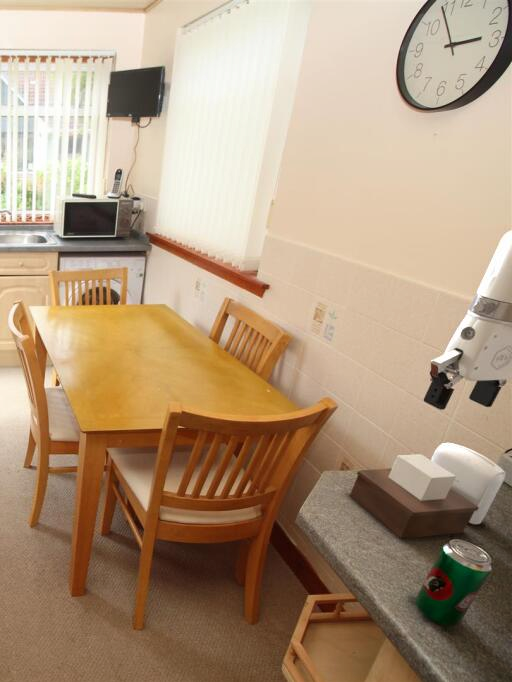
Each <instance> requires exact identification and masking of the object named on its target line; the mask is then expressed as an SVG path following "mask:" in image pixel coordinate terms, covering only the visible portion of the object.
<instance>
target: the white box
mask: <svg viewBox="0 0 512 682" xmlns="http://www.w3.org/2000/svg"><path fill="white" fill-rule="evenodd" d="M391 468H392V470H391V472H390V475H389V478H390V479H392V480H393V481H394V482H396V483H397V484H398V485H400V486H401V487H403V488H404V489H405V490H407V491H408V492H410V493H411V494H412V495H414V496H415V497H417V498H418V499H419V500H421V501H425V500H438V499H445V498H446V496H447V494H448V492H449V490H450V488H451V486H452V484H453V482H454V480H455V478H456V476H455V475H453V474H452V473H450V472H449V471H447V470H445V469H444V468H442V467H441V466H439V465H437V464H436V463H434V462H433V461H431V459H429V458H428V457H426V456H425V455H423V454H421V453H417V454H400V455H397V456H396V458H395V461H394V463H393V466H392V467H391Z"/></svg>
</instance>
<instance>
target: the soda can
mask: <svg viewBox="0 0 512 682" xmlns="http://www.w3.org/2000/svg"><path fill="white" fill-rule="evenodd" d="M492 570H493V566H492V558H491V556H490V555H489V554H488V553H487V552H486V551H485V550H484V549H482V548H481V547H479V546H477V545H475V544H473V543H471V542H468V541H465V540H463V539H451V540H450V541H448V542H446V543H444V544H443V545H442V547H441V549H440V551H439V553H438V555H436V558H435V560H434V562H433V563H432V566H431V568H430V570H429V572H428V573H427V575H426V577H425V579H424V581H423V583H422V585H421V587H420V588H419V591H418V592H417V594H416V596H415V598H414V601H415V604H416V606H417V608H418V610H419V611H420V612H421V614H422V615H423V616H425V617H426V618H427V619H428V620H430V621H432V622H434V623H435V624H438V625H440V626H443V627H458V626H459V625H460V624H461V623H462V620H463V619H464V617H465V615H466V614H467V612H468V610H469V609H470V607H471V605H472V604H473V602H474V600H475V599H476V597H477V595H478V594H479V592H480V590H481V588H482V587H483V585H484V583H485V582H486V580H487V578H488V577H489V575H490V573H491V572H492Z"/></svg>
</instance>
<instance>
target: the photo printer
mask: <svg viewBox="0 0 512 682" xmlns="http://www.w3.org/2000/svg"><path fill="white" fill-rule="evenodd" d="M430 460H431V461H433V462H434V463H436V464H437V465H439V466H441V467H442V468H444V469H445V470H447V471H449V472H450V473H452V474H453V475H455V476H456V478H455V480H454V482H453V484H452V486H451V488H450V489H452V490H453V491H455V492H457V493H458V494H460V495H461V496H463V497H464V498H466V499H467V500H469V501H470V502H472V503H473V504H475V505H476V506H478V507H479V509H478V510H477V511H474V513H473V515H472V517H471V518H470V520H469V522H468V524H472V525H480V524H481V523H482V522H483V520H484V518H485V517H486V515H487V513H488V511H489V509H490V507H491V506H492V503H493V501H494V500H495V498H496V496H497V494H498V492H499V490H500V488H501V487H502V485H503V483H504V481H505V479H506V476H507V475H506V474H507V473H506V472H505V471H504V469H503V468H501V467H500V466H499V465H498V464H496V463H495V462H494V461H492V460H491V459H490V458H488V457H486V456H485V455H483V454H481V453H479V452H477V451H475V450H473V449H470V448H468V447H466V446H463V445H461V444H457V443H451V442H445V443H444V442H443V443H441V444H440V445H439V446H437V448H436V449H435V450H434V453H433V454H432V456H431V459H430Z"/></svg>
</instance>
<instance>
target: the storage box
mask: <svg viewBox="0 0 512 682" xmlns="http://www.w3.org/2000/svg"><path fill="white" fill-rule="evenodd" d="M392 468H393V467H390V468H373V469H359V470H357V472H356V475H357V477H356V480H355V482H354V484H353V487H352V489H351V492H350V494H349V497H350V498H351V499H353V501H355V502H356V503H358V504H359V505H360V506H361V507H362V508H364V509H365V510H366V511H367V512H368V513H370V514H371V515H372V516H373V517H374V518H376V519H377V520H378V521H379V522H380V523H382V524H383V525H384V526H385V527H386V528H388V529H389V530H390V531H391V532H392V533H394V534H395V535H396V536H397V537H399V538H400V539H407V538H420V537H429V536H430V537H431V536H441V535H443V536H444V535H451V534H452V535H455V534H463V533H464V531H465V530H466V528H467V526H468V524H469V520H470V518H471V517H472V515H473V513H474V511H477V510H478V509H479V507H478V506H476V505H475V504H473V503H472V502H470V501H469V500H467V499H466V498H464V497H463V496H461V495H460V494H458V493H457V492H455V491H453V490H452V489H450V490H449V492H448V494H447V496H446V498H445V499H438V500H425V501H421V500H419V499H418V498H417V497H415V496H414V495H412V494H411V493H410V492H408V491H407V490H405V489H404V488H403V487H401V486H400V485H398V484H397V483H396V482H394V481H393V480H392V479H390V478H389V475H390V472H391V470H392Z"/></svg>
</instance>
